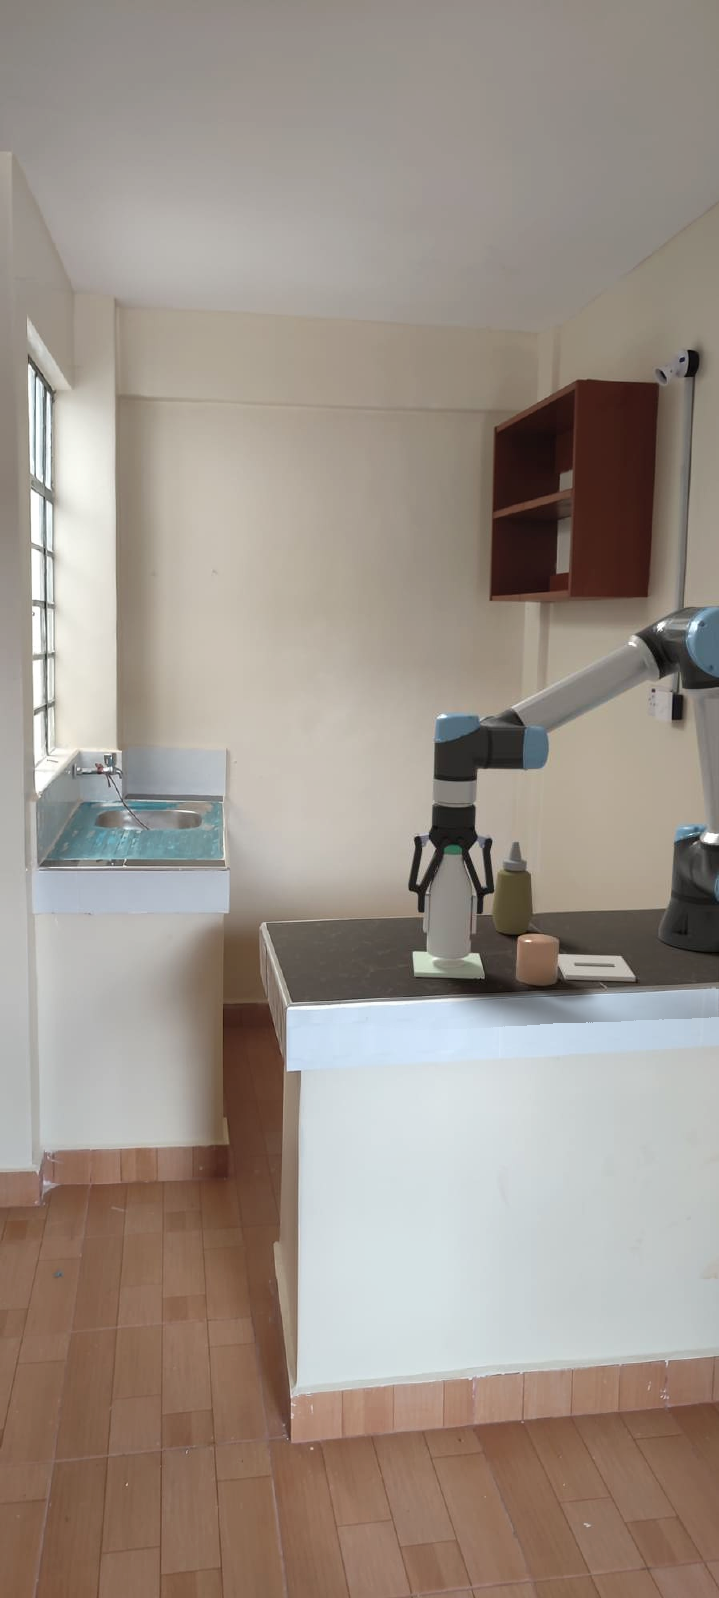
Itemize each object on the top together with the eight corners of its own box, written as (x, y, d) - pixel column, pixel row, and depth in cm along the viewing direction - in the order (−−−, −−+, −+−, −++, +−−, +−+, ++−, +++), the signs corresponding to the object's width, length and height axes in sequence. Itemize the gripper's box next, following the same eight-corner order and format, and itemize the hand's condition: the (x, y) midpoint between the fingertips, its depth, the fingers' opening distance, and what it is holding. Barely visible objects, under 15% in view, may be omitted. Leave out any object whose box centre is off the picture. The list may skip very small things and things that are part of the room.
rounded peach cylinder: (553, 973, 199) (555, 934, 198) (559, 986, 192) (562, 946, 191) (513, 971, 199) (515, 933, 198) (518, 984, 192) (520, 945, 191)
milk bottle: (467, 962, 196) (472, 848, 192) (423, 958, 197) (427, 845, 194) (472, 949, 203) (477, 839, 200) (429, 945, 205) (433, 837, 201)
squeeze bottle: (508, 923, 230) (513, 836, 227) (540, 932, 224) (545, 843, 221) (482, 930, 224) (486, 841, 221) (514, 939, 218) (518, 848, 215)
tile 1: (478, 957, 206) (478, 952, 206) (484, 978, 195) (484, 973, 194) (412, 955, 207) (412, 950, 206) (414, 976, 195) (414, 971, 195)
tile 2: (620, 960, 207) (621, 955, 207) (635, 981, 195) (635, 976, 195) (554, 958, 207) (555, 953, 207) (565, 979, 195) (565, 973, 195)
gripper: (511, 800, 199) (505, 926, 203) (394, 797, 200) (391, 923, 203) (516, 808, 192) (510, 938, 196) (395, 805, 192) (391, 935, 196)
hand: (449, 930), depth 200 cm, fingers closed on milk bottle, 8 cm apart
